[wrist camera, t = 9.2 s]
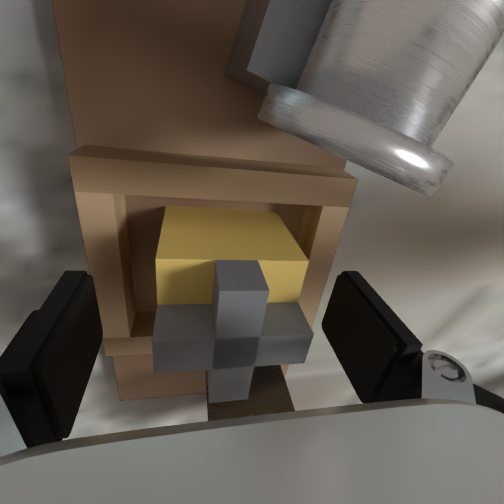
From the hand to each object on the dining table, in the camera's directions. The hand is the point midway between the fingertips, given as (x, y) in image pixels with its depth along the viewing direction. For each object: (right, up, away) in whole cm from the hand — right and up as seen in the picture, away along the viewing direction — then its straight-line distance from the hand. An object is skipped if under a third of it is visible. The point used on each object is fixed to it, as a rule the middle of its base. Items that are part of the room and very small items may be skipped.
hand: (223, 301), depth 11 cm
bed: (-1, +2, +4) cm, 4 cm away
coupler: (0, +2, +3) cm, 4 cm away
